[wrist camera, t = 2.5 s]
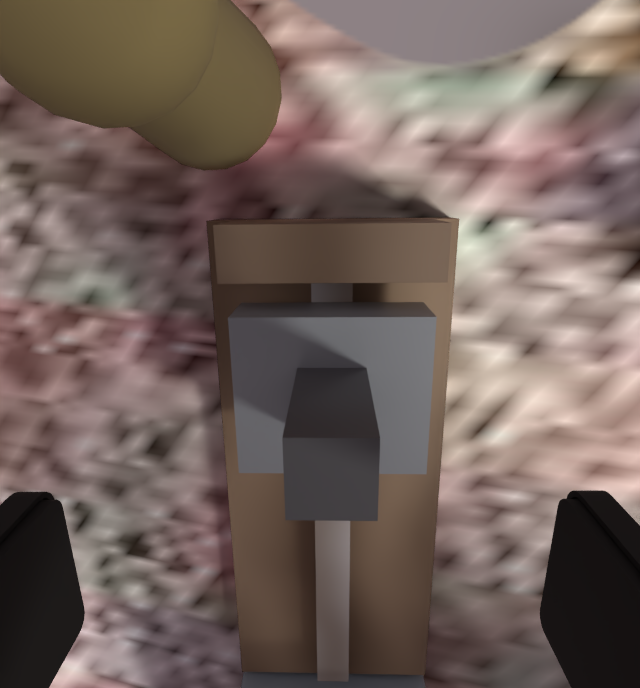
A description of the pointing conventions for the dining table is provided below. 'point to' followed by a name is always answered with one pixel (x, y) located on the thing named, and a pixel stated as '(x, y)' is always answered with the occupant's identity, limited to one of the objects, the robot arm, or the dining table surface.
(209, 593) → the dining table surface
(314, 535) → the board
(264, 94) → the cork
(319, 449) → the carriage
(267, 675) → the end cabinet
